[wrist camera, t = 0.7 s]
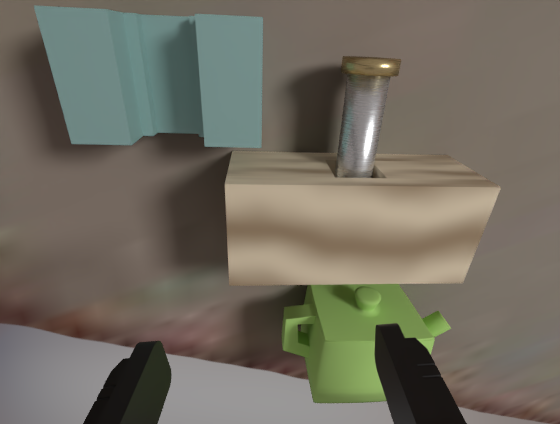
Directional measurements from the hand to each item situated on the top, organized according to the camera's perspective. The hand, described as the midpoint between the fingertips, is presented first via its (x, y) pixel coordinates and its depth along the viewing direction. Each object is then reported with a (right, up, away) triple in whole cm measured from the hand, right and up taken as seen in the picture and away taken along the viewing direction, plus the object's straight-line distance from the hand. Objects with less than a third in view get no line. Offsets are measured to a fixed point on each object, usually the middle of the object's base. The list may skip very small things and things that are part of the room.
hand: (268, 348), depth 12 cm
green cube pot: (+9, -5, +26) cm, 28 cm away
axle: (+6, +9, +16) cm, 19 cm away
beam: (+6, +7, +19) cm, 21 cm away
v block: (-8, +16, +13) cm, 22 cm away
